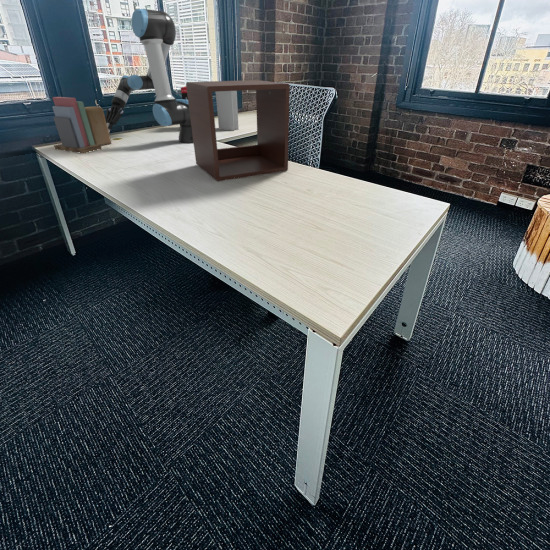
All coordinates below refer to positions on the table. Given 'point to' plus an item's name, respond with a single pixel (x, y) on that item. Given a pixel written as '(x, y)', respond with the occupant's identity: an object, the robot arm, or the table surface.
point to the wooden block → (98, 125)
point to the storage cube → (270, 130)
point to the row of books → (72, 122)
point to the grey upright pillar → (227, 110)
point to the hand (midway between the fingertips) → (105, 133)
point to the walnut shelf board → (81, 150)
